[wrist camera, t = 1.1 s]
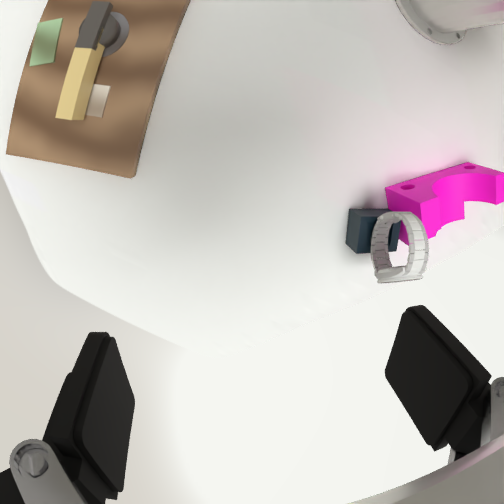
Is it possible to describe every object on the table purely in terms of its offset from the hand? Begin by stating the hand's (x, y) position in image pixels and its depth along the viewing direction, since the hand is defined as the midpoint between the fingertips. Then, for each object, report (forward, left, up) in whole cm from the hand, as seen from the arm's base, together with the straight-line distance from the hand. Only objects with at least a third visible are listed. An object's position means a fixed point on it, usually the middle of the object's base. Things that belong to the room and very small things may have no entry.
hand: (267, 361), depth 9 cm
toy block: (-8, +26, -26) cm, 37 cm away
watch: (-1, +18, -26) cm, 31 cm away
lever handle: (-13, -16, -24) cm, 32 cm away
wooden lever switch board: (-10, -17, -26) cm, 33 cm away
